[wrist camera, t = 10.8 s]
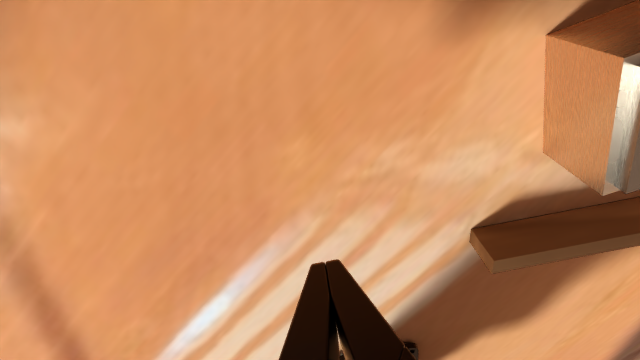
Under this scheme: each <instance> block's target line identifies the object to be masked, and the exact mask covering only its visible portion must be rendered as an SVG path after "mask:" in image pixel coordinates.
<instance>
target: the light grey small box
mask: <svg viewBox="0 0 640 360" xmlns="http://www.w3.org/2000/svg"><path fill="white" fill-rule="evenodd" d="M543 153H545V154H546V155H547V156H549V157H550V158H551V159H553V160H554V161H555V162H557V163H558V164H560V165H561V166H562V167H564V168H565V169H566V170H568V171H569V172H570V173H572V174H573V175H575V176H576V177H577V178H579V179H580V180H581V181H583V182H584V183H585V184H587V185H588V186H590V187H591V188H592V189H594V190H595V191H596V192H598V193H599V194H600V195H602V196H604V195H607V194H610V193H613V192H616V191H620V190H621V191H622V192H624V193H625V194H628V193H631V192H634V191H637V190H640V0H638V1H635V2H632V3H630V4H627V5H624V6H622V7H619V8H616V9H614V10H611V11H608V12H606V13H603V14H601V15H598V16H595V17H593V18H590V19H587V20H585V21H582V22H579V23H577V24H574V25H571V26H569V27H566V28H563V29H561V30H558V31H556V32H553V33H550V34H548V35H546V49H545V88H544V128H543Z"/></svg>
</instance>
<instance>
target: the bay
mask: <svg viewBox="0 0 640 360" xmlns="http://www.w3.org/2000/svg"><path fill="white" fill-rule="evenodd" d="M470 243H471V245H472V246H473V247H474V249H475V250H476V252H477V253H478V255H479V256H480V258H481V259H482V261H483V262H484V264H485V265H486V267H487V268H488V269H489V271H490V272H491V274H494V273H499V272H504V271H510V270H515V269H520V268H525V267H530V266H536V265H541V264H546V263H551V262H556V261H562V260H567V259H572V258H577V257H582V256H588V255H593V254H598V253H603V252H608V251H614V250H619V249H624V248H629V247H634V246H640V197H638V198H633V199H627V200H622V201H617V202H612V203H606V204H601V205H596V206H591V207H585V208H580V209H575V210H570V211H564V212H559V213H554V214H549V215H543V216H538V217H533V218H528V219H522V220H517V221H512V222H507V223H502V224H496V225H491V226H486V227H481V228H475V229H471V234H470Z"/></svg>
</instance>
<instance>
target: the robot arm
mask: <svg viewBox="0 0 640 360" xmlns="http://www.w3.org/2000/svg"><path fill="white" fill-rule="evenodd" d="M336 325H337V326H336ZM337 330H338V332H337ZM338 335H339V339H340V343H341V346H342V349H343V353H344V356H340V357H339V342H338ZM279 360H418V349H417V346H416V344H415V343H407V344H404V343H403V342H402V341H401V339H400V338H399V337H398V335H397V334H396V333H395V332H394V330H393V329H392V328H391V326H390V325H389V324H388V322H387V321H386V320H385V319H384V317H383V316H382V315H381V313H380V312H379V311H378V309H377V308H376V307H375V306H374V304H373V303H372V302H371V300H370V299H369V298H368V296H367V295H366V294H365V293H364V291H363V290H362V289H361V287H360V286H359V285H358V283H357V282H356V281H355V280H354V278H353V277H352V276H351V274H350V273H349V272H348V270H347V269H346V268H345V267H344V265H343V264H342V263H341V261H340V260H338V259H336V260H331V261H327V262H326V265H325V263H324V262H320V263H315V264H312V265H311V267H310V269H309V272H308V275H307V278H306V281H305V284H304V287H303V290H302V293H301V296H300V299H299V302H298V305H297V308H296V310H295V313H294V316H293V319H292V322H291V325H290V328H289V331H288V334H287V337H286V340H285V343H284V346H283V349H282V352H281V355H280V357H279Z"/></svg>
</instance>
